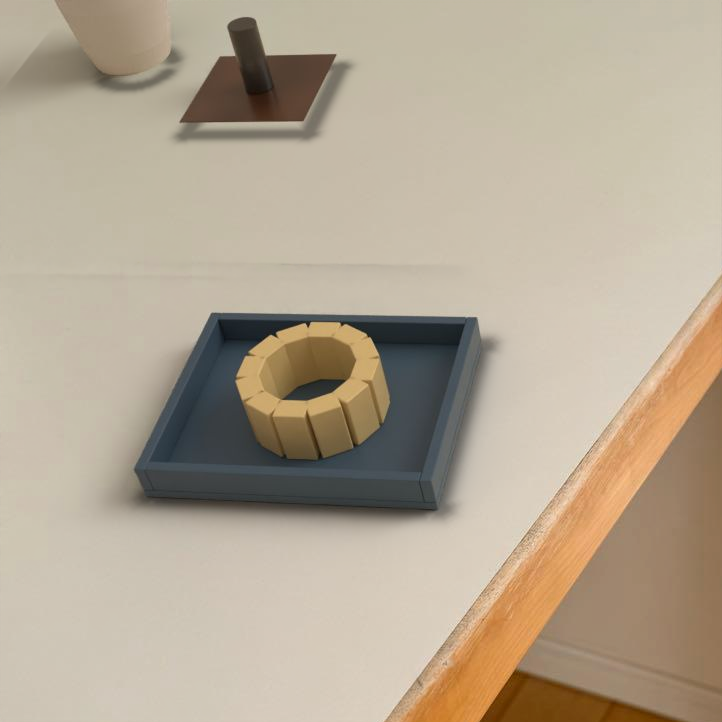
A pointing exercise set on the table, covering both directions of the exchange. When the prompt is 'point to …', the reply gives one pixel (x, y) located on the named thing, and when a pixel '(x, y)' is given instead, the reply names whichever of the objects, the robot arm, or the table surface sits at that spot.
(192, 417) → the tray
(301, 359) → the bracelet
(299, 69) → the peg stand
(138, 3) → the cup
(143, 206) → the table surface
